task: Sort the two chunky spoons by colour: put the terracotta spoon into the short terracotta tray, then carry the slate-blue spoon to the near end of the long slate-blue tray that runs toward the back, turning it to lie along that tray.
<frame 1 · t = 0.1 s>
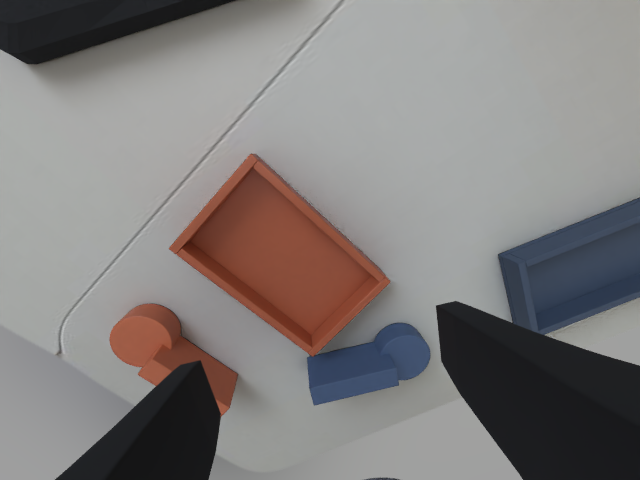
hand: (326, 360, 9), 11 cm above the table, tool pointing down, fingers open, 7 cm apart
terracotta spoon: (200, 359, 20), on the table
slate spoon: (346, 356, 21), on the table
terracotta tray: (286, 255, 19), on the table
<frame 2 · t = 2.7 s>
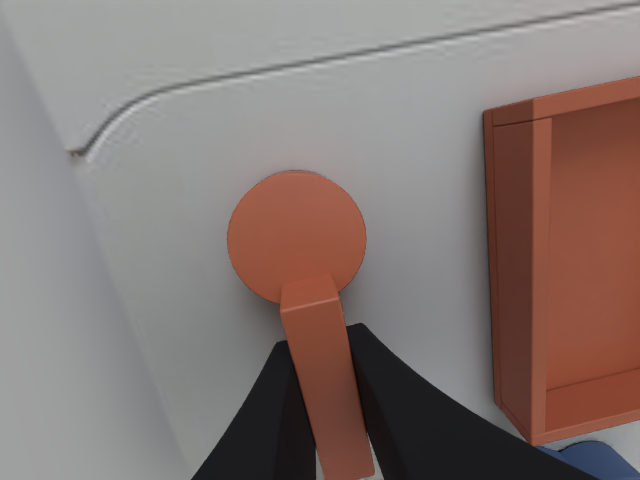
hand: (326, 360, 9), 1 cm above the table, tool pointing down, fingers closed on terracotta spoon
terracotta spoon: (321, 333, 10), on the table, touching gripper
slate spoon: (511, 452, 13), on the table
terracotta tray: (585, 257, 10), on the table
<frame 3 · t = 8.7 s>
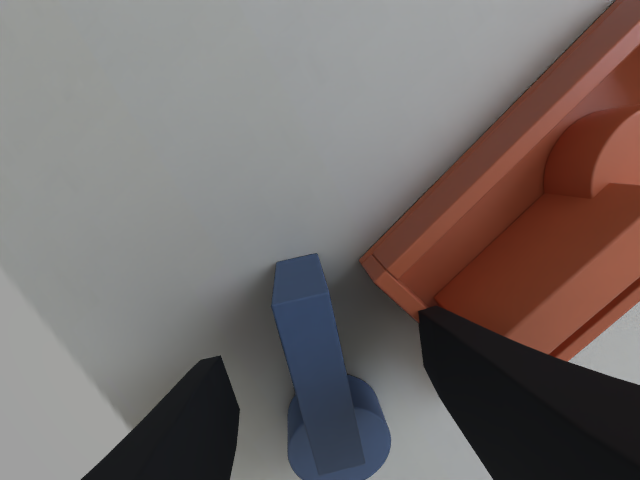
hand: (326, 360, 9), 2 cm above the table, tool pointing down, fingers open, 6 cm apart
terracotta spoon: (505, 252, 10), resting on terracotta tray, touching gripper
slate spoon: (313, 329, 11), on the table
terracotta tray: (539, 210, 10), on the table
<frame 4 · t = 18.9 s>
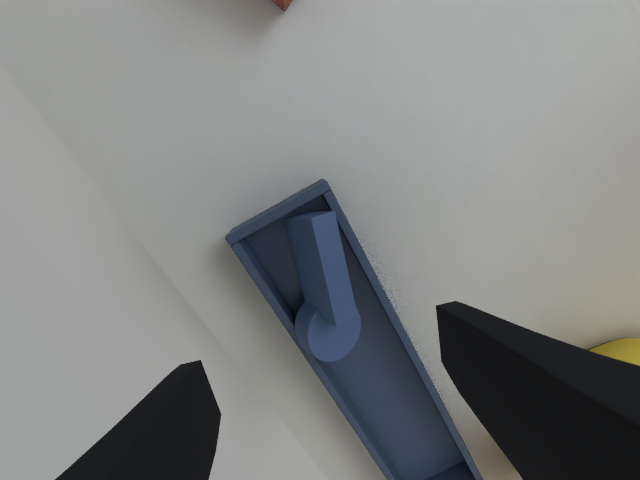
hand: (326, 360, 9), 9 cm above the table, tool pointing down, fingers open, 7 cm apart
slate tray: (370, 361, 20), on the table
teapot: (582, 393, 23), on the table
slate spoon: (306, 262, 17), point 1 cm above the table, tilted 28°, touching slate tray
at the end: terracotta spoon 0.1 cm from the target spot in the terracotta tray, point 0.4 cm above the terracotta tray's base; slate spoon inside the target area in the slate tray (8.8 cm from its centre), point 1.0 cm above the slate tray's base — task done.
